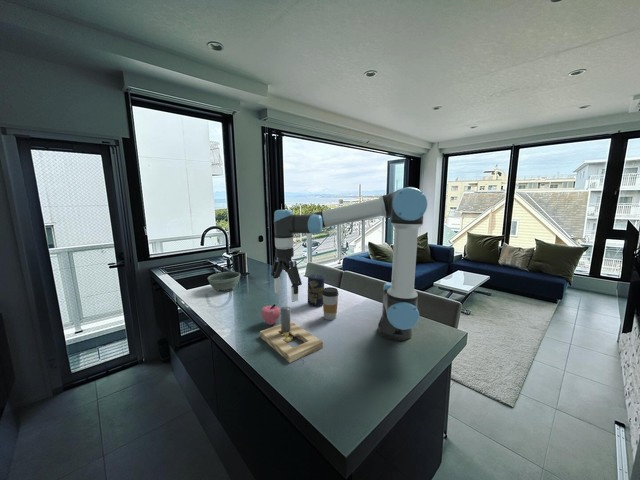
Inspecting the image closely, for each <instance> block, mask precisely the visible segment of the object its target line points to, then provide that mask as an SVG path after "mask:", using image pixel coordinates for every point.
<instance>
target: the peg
mask: <svg viewBox="0 0 640 480" xmlns="http://www.w3.org/2000/svg"><path fill="white" fill-rule="evenodd" d="M290 321H291V307H290V306H282V307H280V324H281V331H282V332H283V334H282V335H283V336H284V337H286V340H284V341H285V342H286V343H290V342H292V341H293V339H294V336H293V335H291V334H290V333H289V331H290Z"/></svg>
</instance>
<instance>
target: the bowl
mask: <svg viewBox="0 0 640 480" xmlns="http://www.w3.org/2000/svg"><path fill="white" fill-rule="evenodd" d="M240 278H241V273H240V272H237V271H224V272H218V273H213V274H211V275H209V276H208V277H207V280H208V283H209V285H210V286H211V288H213V289H215V290H217V291H218V292H221V293H222V292H223V293H225V292H229V291H232V290H233V288H235V287H236V286H238V283H239V281H240Z"/></svg>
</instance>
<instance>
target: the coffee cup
mask: <svg viewBox="0 0 640 480" xmlns="http://www.w3.org/2000/svg"><path fill="white" fill-rule="evenodd" d="M322 295H323V305H322V306H323V307H322V309H323V310H322V311H323V317H324V319H325V320H327V321H328V320H329V321H333V320H335V319H337V312H338V301H339V300H338V299H339V291H338V288H337V287H332V286H331V287H330V286H329V287H324V289H323V293H322Z"/></svg>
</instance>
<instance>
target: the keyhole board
mask: <svg viewBox="0 0 640 480" xmlns="http://www.w3.org/2000/svg"><path fill="white" fill-rule="evenodd" d="M282 334H283V332H282V331H281V323H280V324H277V325H274V326H272V327H269V328H268V327H267V328H266V329H263V330H260V331H259V337H260V338H261V339H262V340H263V341H264V342H265V343H267V344H268V346H270V347H271V348H272V349H273V350H274V351H276V352H277V353H278V354H280V356H281V357H283V358H284V359H285V360H286V361H287V362H288V363H292V362H295V361H296V360H299V359H301V358H303V357H305V356H306V357H307V356H308V355H310V354H312V353H315V352H316V351H319V350H322V349H323V348H324V344H323V343H324V341H323V340H321V339H319V338H317V337H316V336H315V335H313V334H311V333H310V332H308V331H307V330H305V329H304V328H303V327H301V326H299V325H298V324H296V323H295V322H293V321H291V320H290V331H289V334H291V335H293V337H296V338H297V339H299V340H300V341H302V342H303V343H301V344H298V345H297V346H294V347H292V346H291V345H290V344H288V342H285V341H284V340H286V337H284V336H283V335H282Z"/></svg>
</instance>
